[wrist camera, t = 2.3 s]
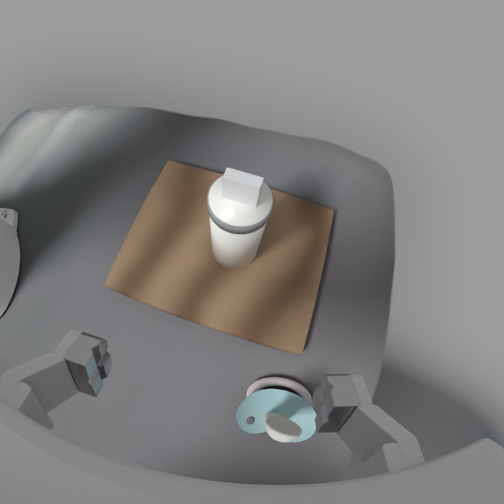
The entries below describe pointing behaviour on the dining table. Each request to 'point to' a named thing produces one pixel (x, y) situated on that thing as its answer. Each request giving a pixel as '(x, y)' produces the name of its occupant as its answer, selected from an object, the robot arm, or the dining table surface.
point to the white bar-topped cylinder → (238, 216)
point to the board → (217, 276)
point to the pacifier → (278, 410)
